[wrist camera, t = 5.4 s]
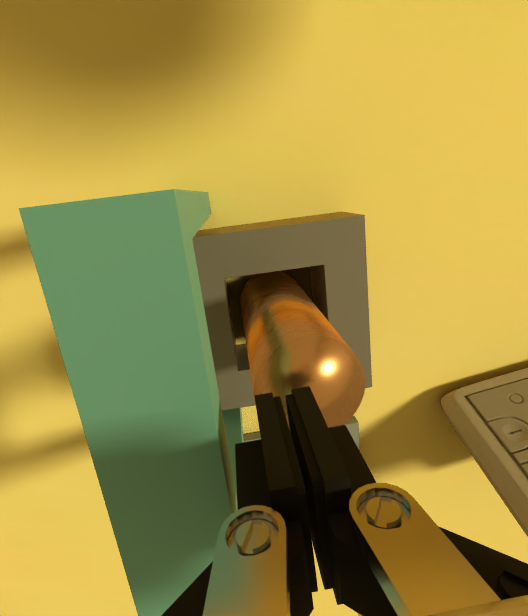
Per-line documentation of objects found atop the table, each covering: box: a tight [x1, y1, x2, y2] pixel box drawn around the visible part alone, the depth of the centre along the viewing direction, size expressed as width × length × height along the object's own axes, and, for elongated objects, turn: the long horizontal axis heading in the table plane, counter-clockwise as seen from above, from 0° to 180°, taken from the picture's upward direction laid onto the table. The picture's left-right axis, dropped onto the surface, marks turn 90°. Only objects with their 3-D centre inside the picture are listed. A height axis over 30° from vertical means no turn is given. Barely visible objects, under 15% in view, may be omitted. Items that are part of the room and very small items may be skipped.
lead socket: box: [192, 212, 372, 410], centre depth 23 cm, size 10×10×4 cm
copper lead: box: [241, 271, 365, 430], centre depth 20 cm, size 4×4×12 cm
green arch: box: [19, 189, 244, 616], centre depth 17 cm, size 3×14×16 cm, turn 7°
